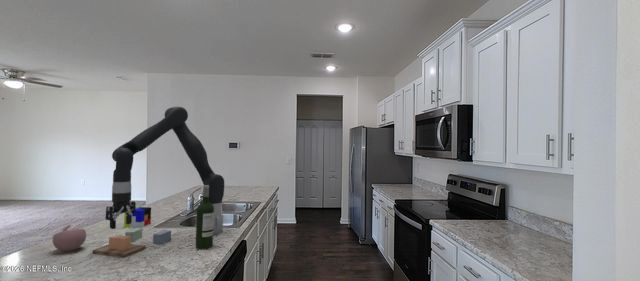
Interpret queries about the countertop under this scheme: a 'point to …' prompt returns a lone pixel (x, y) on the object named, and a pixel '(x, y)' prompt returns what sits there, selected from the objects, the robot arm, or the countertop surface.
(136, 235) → the sage brick
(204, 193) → the wine bottle
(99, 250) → the walnut board
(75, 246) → the mortar and pestle
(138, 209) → the puzzle toy
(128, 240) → the terracotta brick
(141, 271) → the countertop surface
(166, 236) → the slate brick
